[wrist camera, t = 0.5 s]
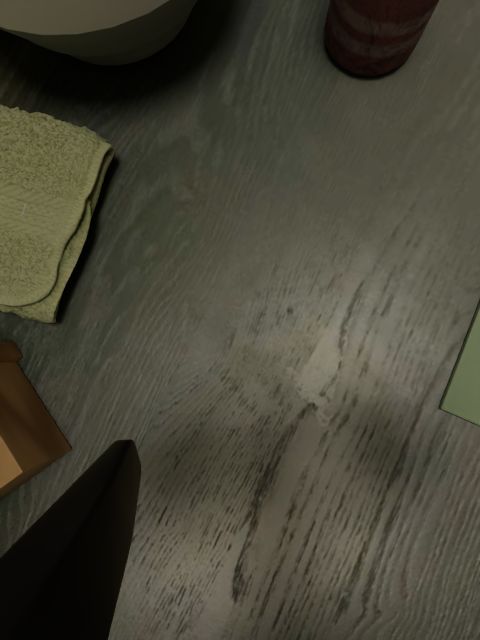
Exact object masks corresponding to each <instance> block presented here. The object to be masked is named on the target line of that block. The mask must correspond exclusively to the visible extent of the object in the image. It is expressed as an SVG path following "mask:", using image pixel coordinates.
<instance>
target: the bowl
mask: <svg viewBox="0 0 480 640" xmlns="http://www.w3.org/2000/svg"><path fill="white" fill-rule="evenodd" d="M197 1H198V0H0V29H2V30H4V31H7V32H9V33H12V34H14V35H17V36H20V37H22V38H25V39H28V40H30V41H31V42H33V43H34V44H37V45H39V46H42V47H44V48H47V49H50V50H52V51H55V52H59V53H64V54H69V55H70V56H72V57H74V58H77V59H79V60H82V61H85V62H87V63H92V64H98V65H103V66H108V65H124V64H129V63H134V62H137V61H140V60H142V59H145V58H147V57H150V56H151V55H153V54H155V53H156V52H158V51H160V50H161V49H163V48H164V47H165V46H166V45H168V44H169V43H170V42H171V41H172V40H173V39H174V38H175V37H176V36H177V35H178V33H179V32H180V31H181V29H182V28H183V27H184V25H185V23H186V21H187V19H188V17H189V15H190V13H191V11H192V8H193V6H194V5H195V4H196V3H197Z"/></svg>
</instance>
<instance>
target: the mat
mask: <svg viewBox="0 0 480 640" xmlns="http://www.w3.org/2000/svg"><path fill="white" fill-rule="evenodd" d="M439 409H442V410H444V411H446V412H448V413H451V414H453V415H455V416H458V417H460V418H462V419H465V420H467V421H469V422H471V423H474V424H476V425H478V426H480V303H479V305H478V308H477V310H476V313H475V316H474V318H473V321H472V323H471V326H470V329H469V331H468V334H467V336H466V339H465V342H464V344H463V347H462V349H461V352H460V354H459V357H458V360H457V362H456V365H455V367H454V370H453V373H452V375H451V378H450V380H449V383H448V386H447V388H446V391H445V393H444V396H443V399H442V401H441V404H440V406H439Z"/></svg>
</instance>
